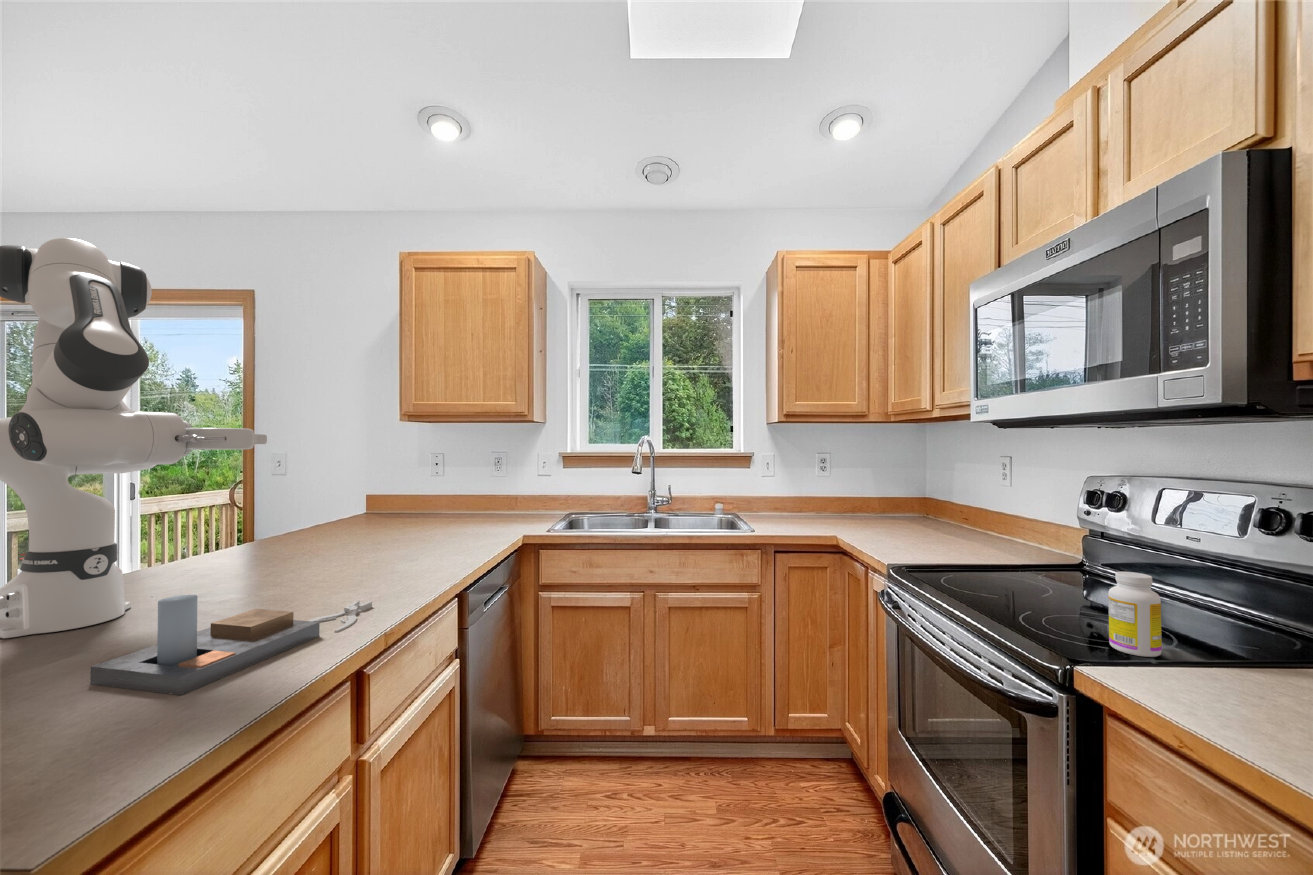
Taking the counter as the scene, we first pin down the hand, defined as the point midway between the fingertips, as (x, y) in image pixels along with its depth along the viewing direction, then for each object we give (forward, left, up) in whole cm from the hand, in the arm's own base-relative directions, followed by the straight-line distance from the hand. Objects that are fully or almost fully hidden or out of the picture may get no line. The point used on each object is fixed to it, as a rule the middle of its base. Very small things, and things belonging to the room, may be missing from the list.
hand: (248, 439), depth 103 cm
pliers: (+16, +6, -36) cm, 39 cm away
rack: (+12, -15, -35) cm, 40 cm away
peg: (+12, -21, -35) cm, 42 cm away
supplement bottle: (+159, +20, -35) cm, 164 cm away
